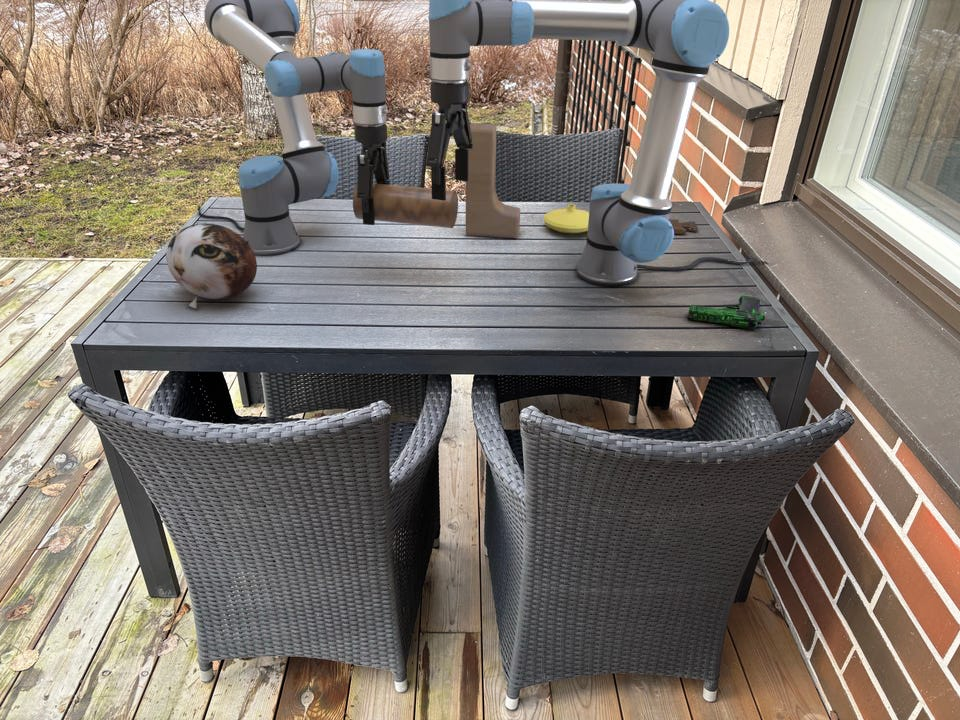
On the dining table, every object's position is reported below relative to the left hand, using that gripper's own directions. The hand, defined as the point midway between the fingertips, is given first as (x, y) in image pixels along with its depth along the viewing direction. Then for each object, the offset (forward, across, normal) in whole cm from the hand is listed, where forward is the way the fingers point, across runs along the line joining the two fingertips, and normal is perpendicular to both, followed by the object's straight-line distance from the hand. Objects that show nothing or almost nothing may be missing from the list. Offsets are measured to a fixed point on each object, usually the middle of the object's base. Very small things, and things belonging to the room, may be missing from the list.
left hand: (375, 217), depth 176 cm
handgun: (+13, -4, -86) cm, 87 cm away
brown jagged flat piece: (+14, +49, -69) cm, 86 cm away
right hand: (-15, -20, -24) cm, 34 cm away
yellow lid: (+14, +42, -44) cm, 63 cm away
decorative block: (+14, +34, -23) cm, 43 cm away
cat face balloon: (+15, -23, +32) cm, 42 cm away
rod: (0, 0, -8) cm, 8 cm away
